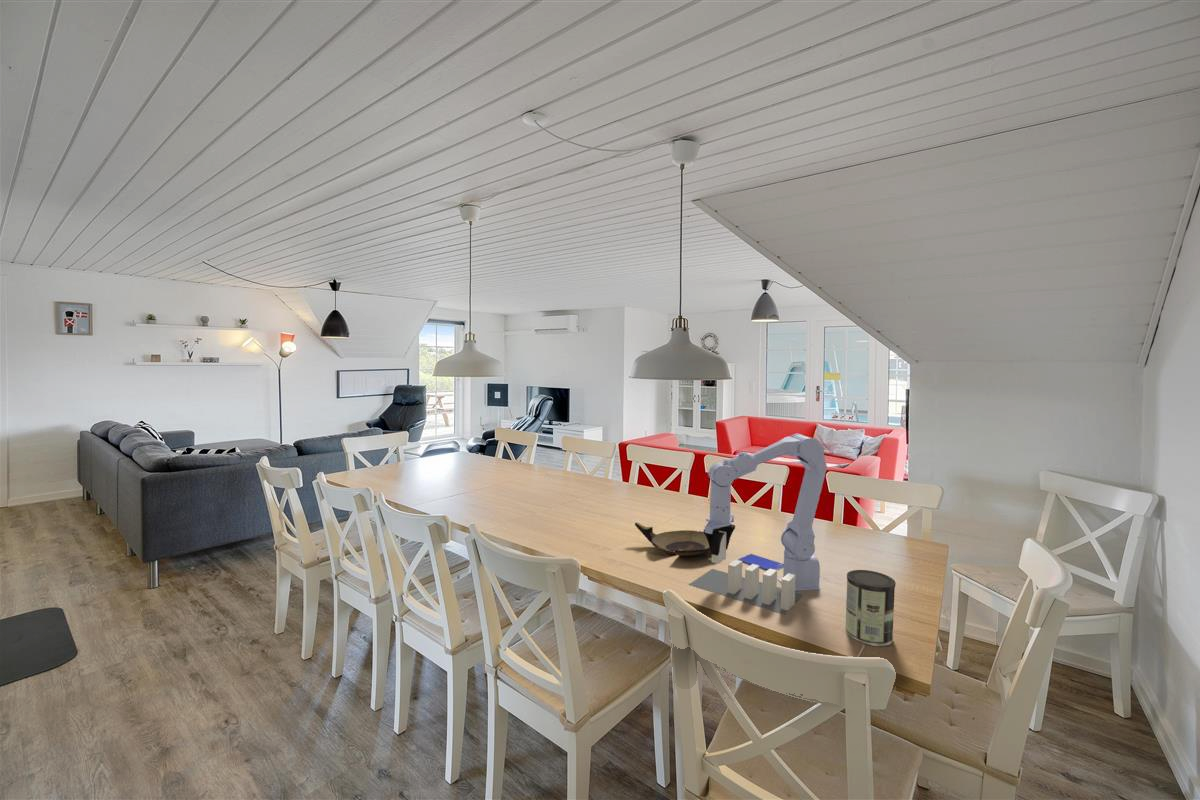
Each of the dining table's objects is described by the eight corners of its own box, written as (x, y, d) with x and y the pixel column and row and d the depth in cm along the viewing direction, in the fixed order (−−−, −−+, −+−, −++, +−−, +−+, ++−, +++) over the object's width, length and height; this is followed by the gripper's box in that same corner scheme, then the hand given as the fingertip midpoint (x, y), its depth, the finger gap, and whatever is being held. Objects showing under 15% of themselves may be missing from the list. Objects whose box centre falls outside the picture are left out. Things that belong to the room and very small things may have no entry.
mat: (803, 595, 144) (803, 594, 144) (784, 616, 132) (784, 614, 132) (712, 569, 162) (712, 568, 162) (688, 585, 150) (688, 584, 150)
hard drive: (785, 564, 164) (751, 553, 174) (772, 570, 159) (737, 559, 168) (785, 568, 164) (751, 557, 174) (772, 575, 159) (737, 563, 168)
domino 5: (794, 604, 138) (795, 575, 138) (788, 610, 134) (789, 581, 134) (787, 601, 139) (788, 573, 139) (780, 608, 136) (781, 579, 135)
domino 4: (776, 598, 141) (777, 570, 141) (769, 605, 137) (770, 576, 137) (769, 596, 143) (769, 568, 142) (762, 602, 139) (762, 574, 138)
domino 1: (725, 558, 150) (726, 532, 150) (718, 563, 146) (718, 536, 146) (719, 557, 152) (720, 530, 151) (711, 562, 148) (712, 534, 147)
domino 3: (758, 593, 144) (759, 565, 144) (751, 599, 141) (752, 571, 140) (751, 591, 146) (752, 563, 145) (744, 597, 142) (745, 569, 141)
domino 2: (741, 588, 148) (742, 561, 147) (734, 594, 144) (734, 566, 143) (735, 586, 149) (735, 559, 148) (727, 592, 145) (728, 564, 144)
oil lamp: (692, 572, 160) (692, 548, 160) (625, 546, 183) (625, 524, 182) (734, 555, 175) (735, 532, 174) (667, 532, 197) (668, 513, 197)
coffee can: (874, 623, 129) (877, 568, 128) (903, 645, 119) (905, 586, 118) (835, 625, 128) (838, 570, 127) (860, 648, 118) (863, 588, 117)
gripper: (718, 498, 156) (717, 541, 157) (695, 508, 145) (694, 555, 146) (740, 502, 151) (739, 547, 152) (718, 513, 140) (717, 561, 141)
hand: (719, 551), depth 149 cm, fingers closed on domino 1, 5 cm apart
